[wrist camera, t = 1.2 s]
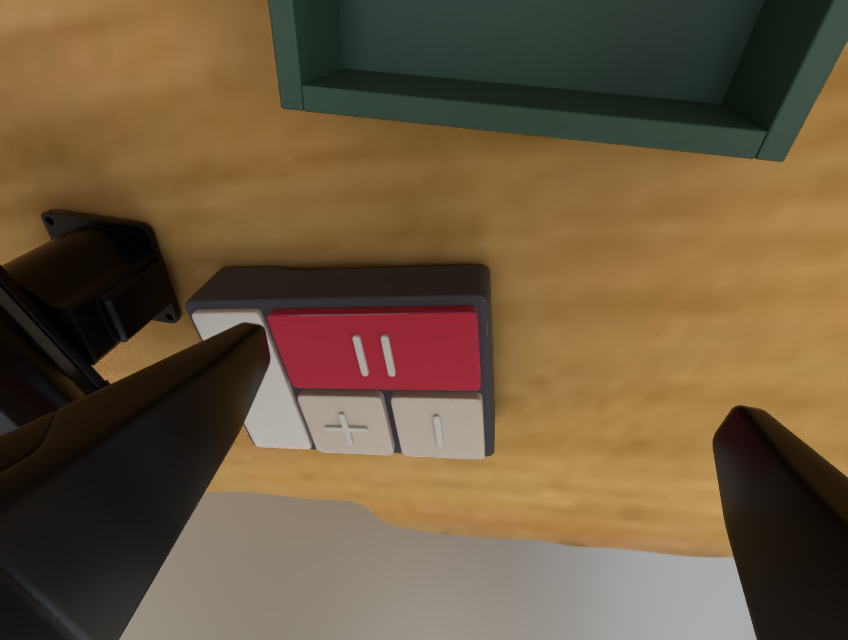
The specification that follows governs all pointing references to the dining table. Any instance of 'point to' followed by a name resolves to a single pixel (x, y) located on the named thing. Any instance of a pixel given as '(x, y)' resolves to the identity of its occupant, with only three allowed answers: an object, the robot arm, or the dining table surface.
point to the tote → (568, 67)
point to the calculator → (365, 357)
